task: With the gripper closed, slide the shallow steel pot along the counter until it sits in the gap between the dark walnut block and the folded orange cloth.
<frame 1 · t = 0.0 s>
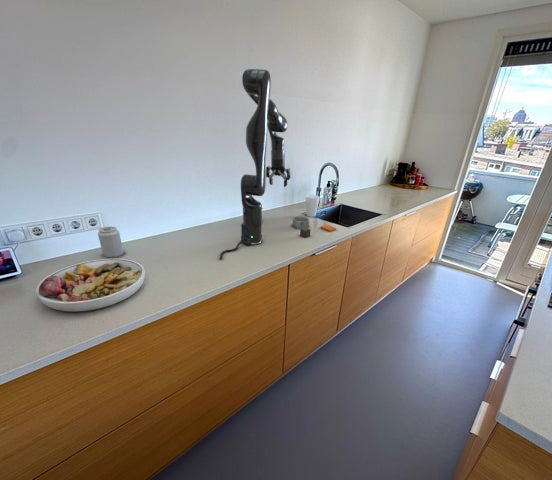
hand: (278, 185, 169), 22 cm above the worktop, tool pointing down, fingers open, 8 cm apart
orange cloth: (328, 229, 173), on the worktop
foam cup: (311, 215, 196), on the worktop
bowl: (98, 290, 99), on the worktop
can: (113, 255, 123), on the worktop
steel pot: (300, 226, 174), on the worktop
walnut block: (305, 235, 160), on the worktop
plant pot: (254, 222, 176), on the worktop
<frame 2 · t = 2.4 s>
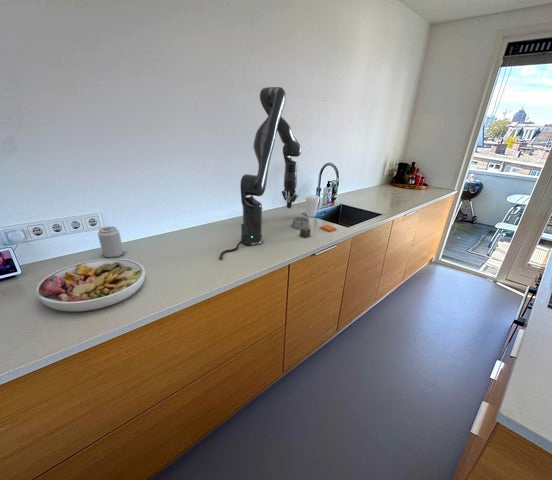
hand: (289, 207, 177), 9 cm above the worktop, tool pointing down, fingers closed
nothing on the worktop moved.
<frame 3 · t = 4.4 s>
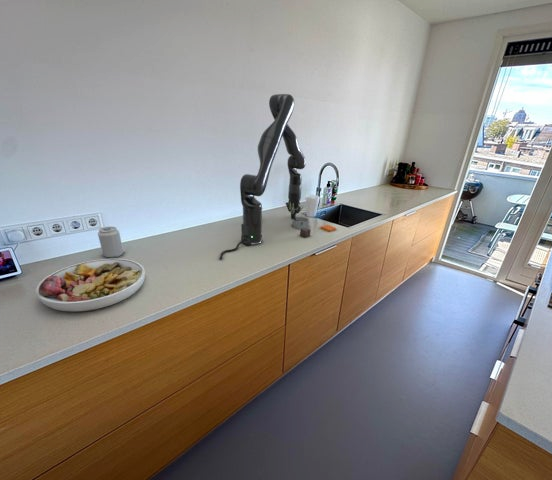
hand: (293, 219, 177), 3 cm above the worktop, tool pointing down, fingers closed
steel pot: (300, 226, 174), on the worktop, touching gripper
everything else where it was.
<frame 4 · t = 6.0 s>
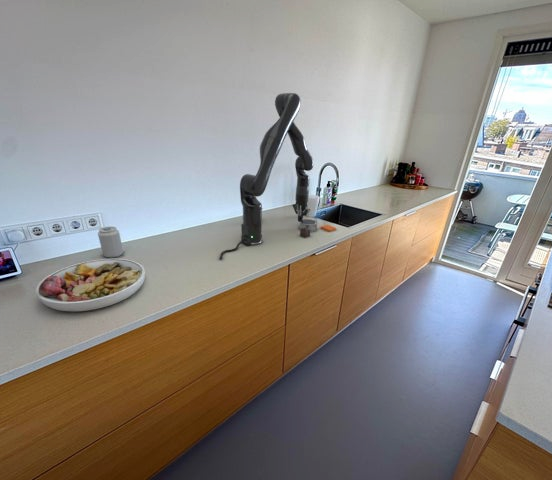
hand: (300, 221, 173), 3 cm above the worktop, tool pointing down, fingers closed
steel pot: (307, 229, 170), on the worktop, touching gripper
everything else where it was.
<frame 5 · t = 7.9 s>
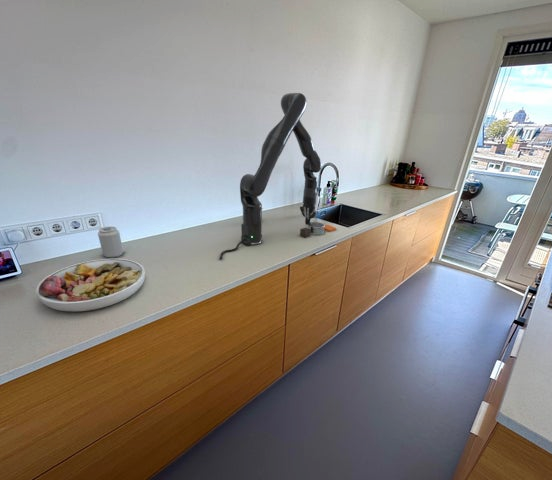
hand: (307, 224, 169), 3 cm above the worktop, tool pointing down, fingers closed
steel pot: (315, 232, 166), on the worktop, touching gripper
everything else where it was.
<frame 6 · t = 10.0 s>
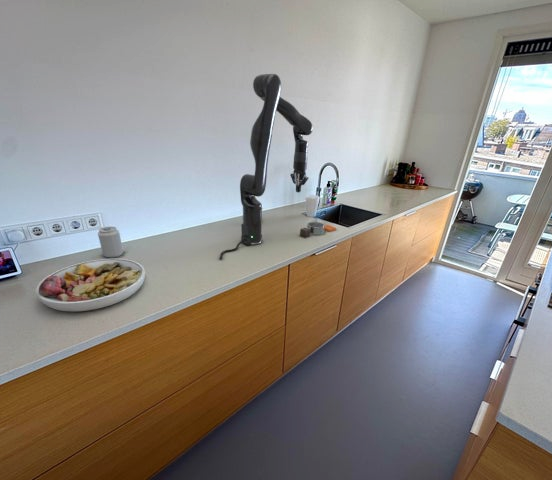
hand: (298, 192, 165), 20 cm above the worktop, tool pointing down, fingers closed
steel pot: (315, 232, 166), on the worktop
everything else where it was.
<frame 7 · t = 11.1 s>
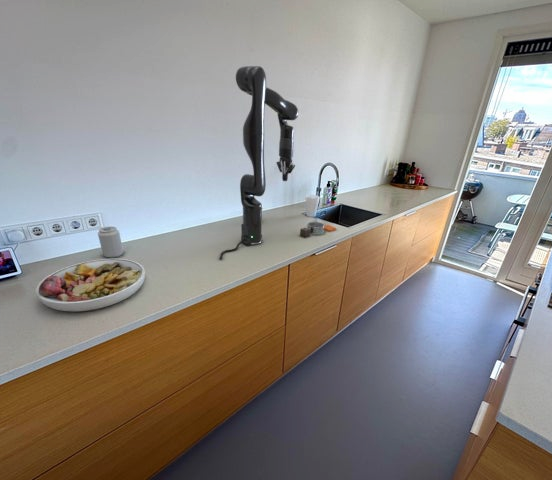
hand: (284, 180, 159), 27 cm above the worktop, tool pointing down, fingers closed
nothing on the worktop moved.
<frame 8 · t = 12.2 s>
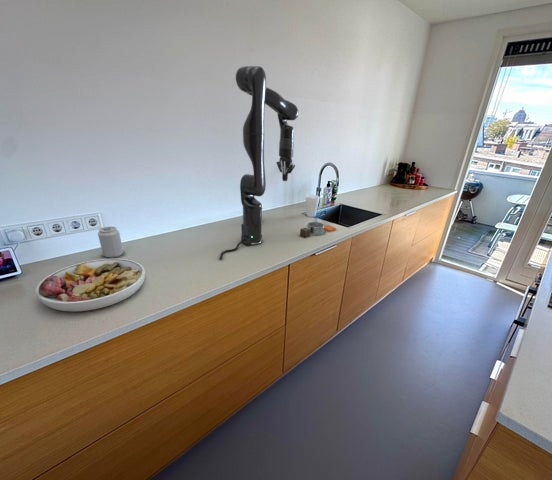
hand: (284, 180, 159), 27 cm above the worktop, tool pointing down, fingers closed
nothing on the worktop moved.
at the end: steel pot inside the target area (0.2 cm from its centre), on the worktop; steel pot tilted 0° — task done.
